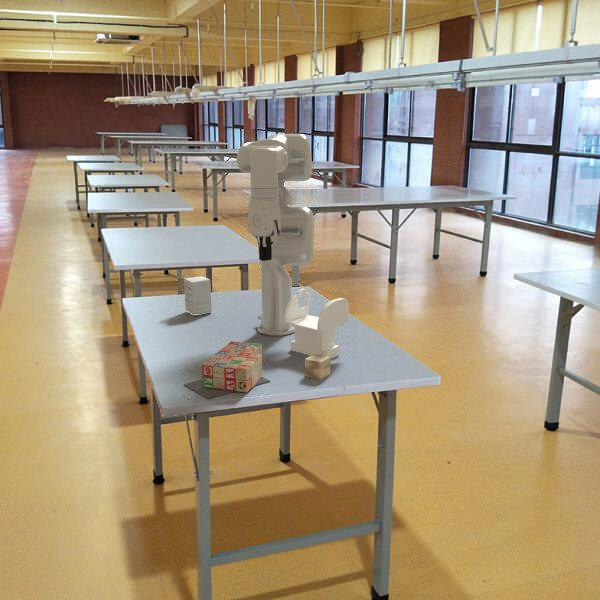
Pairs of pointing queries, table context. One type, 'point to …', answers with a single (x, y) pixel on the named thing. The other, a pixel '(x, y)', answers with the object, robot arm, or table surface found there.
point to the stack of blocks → (234, 367)
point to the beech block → (317, 366)
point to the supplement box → (197, 295)
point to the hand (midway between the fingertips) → (265, 259)
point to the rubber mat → (211, 393)
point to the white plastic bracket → (316, 325)
